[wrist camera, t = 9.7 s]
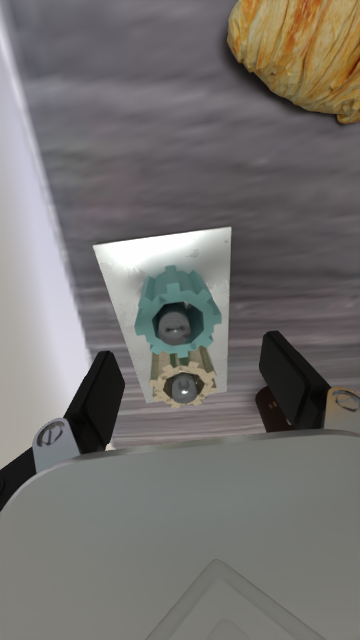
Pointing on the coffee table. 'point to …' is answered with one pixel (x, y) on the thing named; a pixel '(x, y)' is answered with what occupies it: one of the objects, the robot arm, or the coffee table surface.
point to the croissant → (302, 51)
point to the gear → (170, 291)
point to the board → (152, 263)
